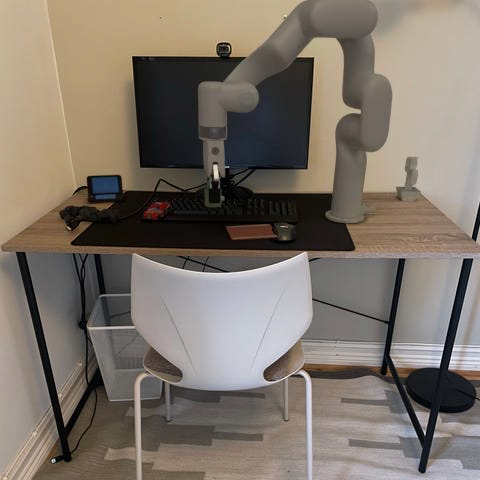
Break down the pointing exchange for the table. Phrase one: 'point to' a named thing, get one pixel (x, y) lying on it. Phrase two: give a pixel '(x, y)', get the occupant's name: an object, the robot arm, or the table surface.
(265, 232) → the reddish brown flat tray
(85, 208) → the robot figurine
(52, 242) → the table surface
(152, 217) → the race car
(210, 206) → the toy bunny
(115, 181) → the handheld game console
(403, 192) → the figurine
